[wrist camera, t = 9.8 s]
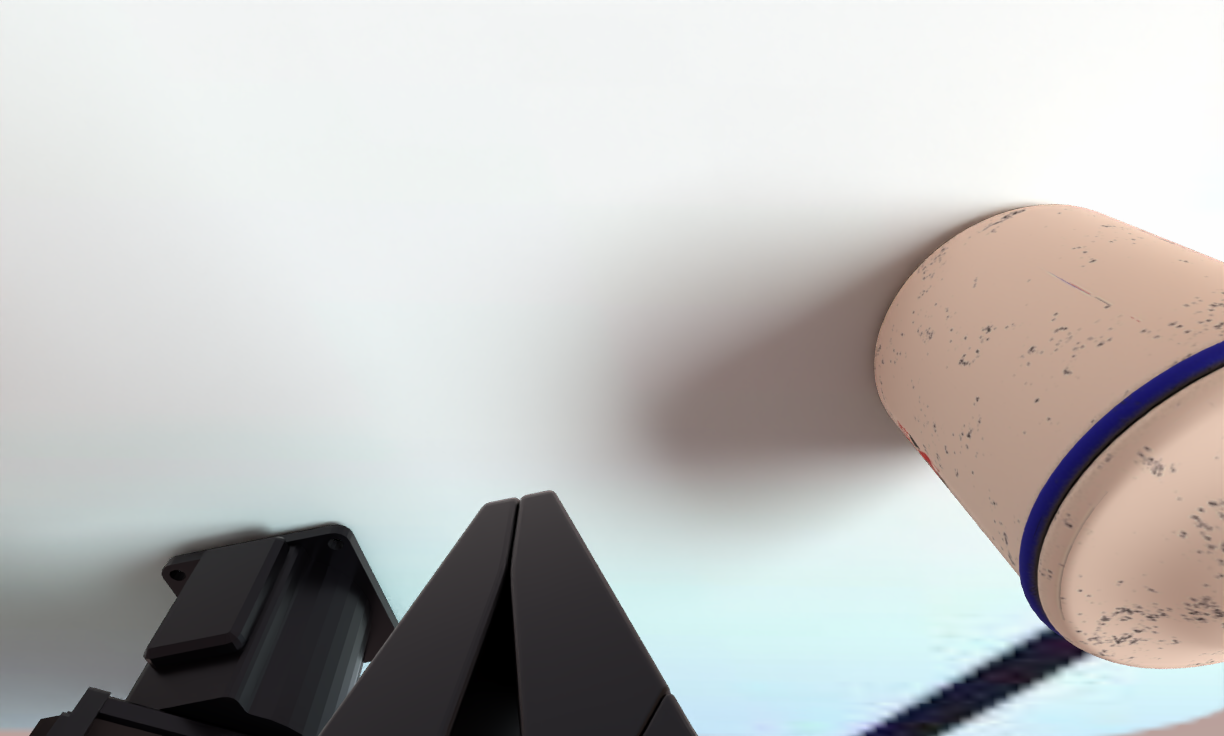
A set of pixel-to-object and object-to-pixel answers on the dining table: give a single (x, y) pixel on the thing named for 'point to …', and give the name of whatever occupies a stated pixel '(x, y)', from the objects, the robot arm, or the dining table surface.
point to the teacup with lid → (1077, 420)
